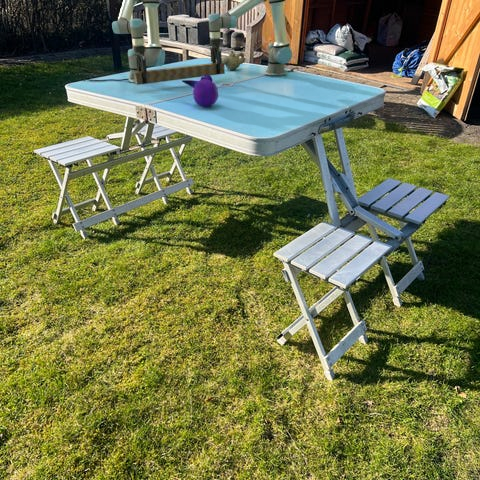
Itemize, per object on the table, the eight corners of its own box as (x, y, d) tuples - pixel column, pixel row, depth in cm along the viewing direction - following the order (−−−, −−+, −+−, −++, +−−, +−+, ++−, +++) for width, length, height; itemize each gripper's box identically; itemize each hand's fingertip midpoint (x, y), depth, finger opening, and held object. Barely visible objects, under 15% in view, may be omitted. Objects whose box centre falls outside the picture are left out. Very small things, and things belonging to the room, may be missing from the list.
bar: (137, 84, 300) (135, 73, 296) (135, 83, 304) (133, 72, 300) (224, 73, 327) (224, 62, 323) (221, 72, 331) (221, 62, 327)
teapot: (225, 72, 364) (224, 52, 356) (218, 70, 372) (217, 50, 365) (247, 69, 373) (247, 50, 365) (240, 67, 381) (240, 48, 374)
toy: (206, 98, 286) (218, 113, 265) (179, 93, 279) (189, 108, 258) (211, 72, 278) (224, 86, 257) (184, 67, 271) (195, 81, 250)
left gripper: (149, 46, 287) (153, 84, 299) (139, 43, 300) (144, 79, 312) (137, 47, 284) (142, 85, 296) (128, 44, 297) (133, 80, 309)
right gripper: (225, 39, 309) (227, 74, 321) (214, 36, 323) (215, 70, 335) (216, 40, 306) (217, 75, 318) (204, 37, 320) (206, 71, 332)
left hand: (143, 82), depth 304 cm, fingers closed on bar, 5 cm apart
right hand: (216, 73), depth 326 cm, fingers closed on bar, 5 cm apart
